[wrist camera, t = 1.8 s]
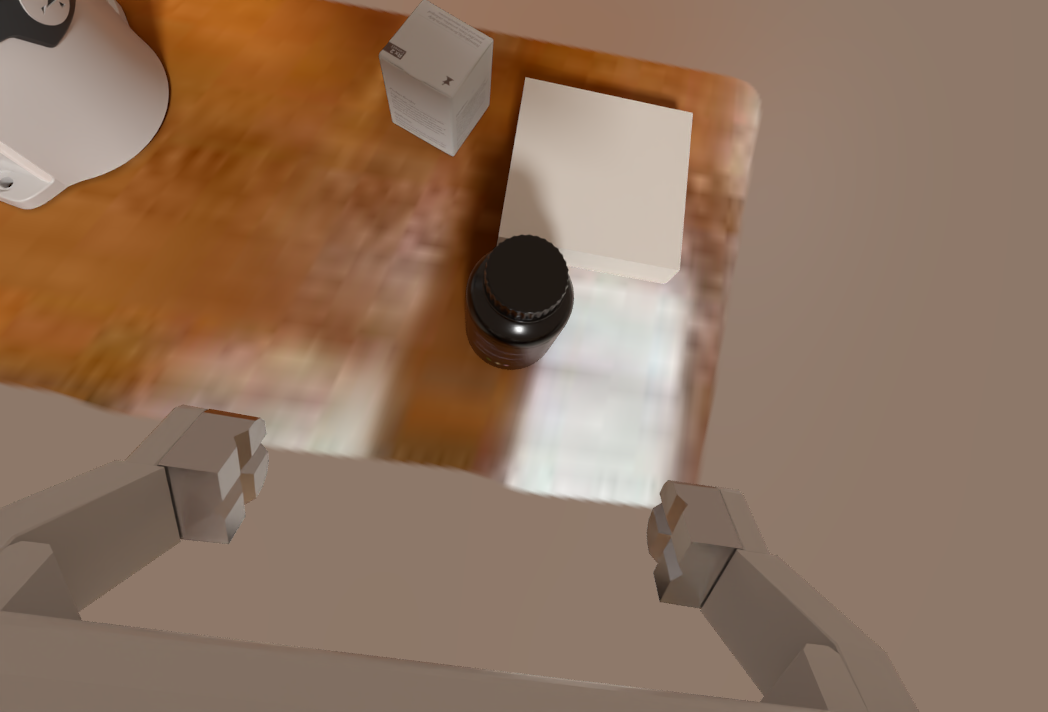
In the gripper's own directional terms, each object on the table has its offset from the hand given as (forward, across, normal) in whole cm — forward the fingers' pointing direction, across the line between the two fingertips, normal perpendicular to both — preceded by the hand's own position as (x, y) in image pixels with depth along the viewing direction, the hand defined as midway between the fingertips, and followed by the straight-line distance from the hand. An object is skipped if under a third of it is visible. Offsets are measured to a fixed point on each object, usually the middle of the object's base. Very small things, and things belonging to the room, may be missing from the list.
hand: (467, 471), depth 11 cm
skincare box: (+41, +7, 0) cm, 41 cm away
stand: (+38, -7, +3) cm, 38 cm away
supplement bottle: (+29, -2, +12) cm, 31 cm away
